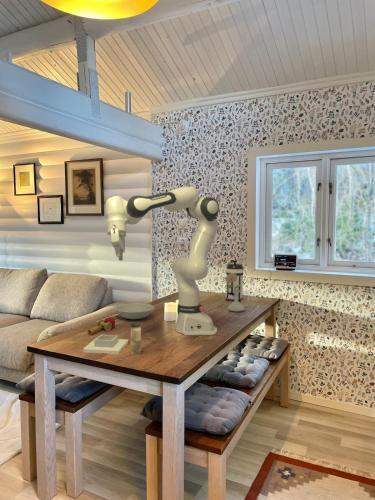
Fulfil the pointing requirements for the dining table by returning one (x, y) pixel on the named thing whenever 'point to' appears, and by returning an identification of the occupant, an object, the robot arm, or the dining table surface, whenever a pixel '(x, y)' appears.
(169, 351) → the dining table surface
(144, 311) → the soup bowl
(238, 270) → the coffee press
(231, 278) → the flower in vase
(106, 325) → the kendama
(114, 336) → the holder
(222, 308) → the dining table surface
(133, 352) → the peg
